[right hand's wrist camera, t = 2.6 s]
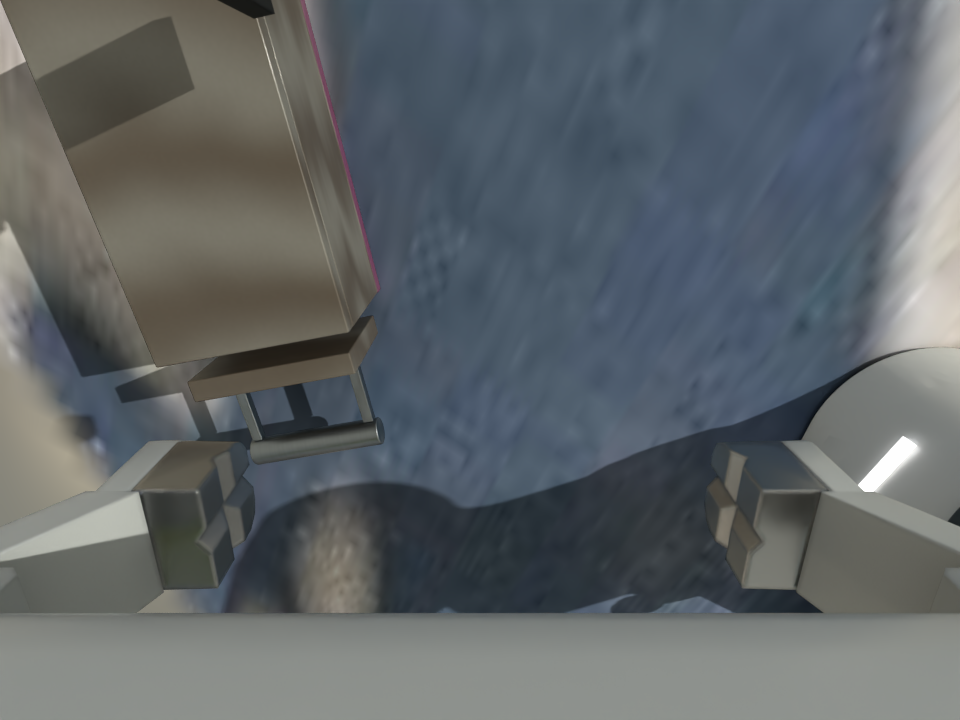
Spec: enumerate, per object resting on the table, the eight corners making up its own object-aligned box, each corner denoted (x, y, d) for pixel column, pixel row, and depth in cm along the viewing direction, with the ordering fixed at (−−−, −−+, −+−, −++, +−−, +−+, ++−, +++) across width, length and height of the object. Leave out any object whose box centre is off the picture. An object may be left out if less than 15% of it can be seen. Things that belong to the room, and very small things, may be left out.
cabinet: (380, 288, 36) (349, 333, 28) (227, 317, 37) (155, 368, 29) (296, -31, 30) (227, -88, 22) (115, 13, 31) (-13, -28, 23)
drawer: (400, 414, 38) (383, 468, 32) (272, 436, 39) (231, 493, 33) (301, 50, 31) (254, 30, 25) (144, 86, 31) (60, 75, 25)
